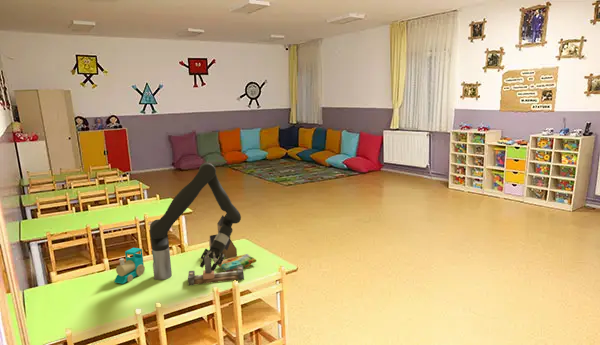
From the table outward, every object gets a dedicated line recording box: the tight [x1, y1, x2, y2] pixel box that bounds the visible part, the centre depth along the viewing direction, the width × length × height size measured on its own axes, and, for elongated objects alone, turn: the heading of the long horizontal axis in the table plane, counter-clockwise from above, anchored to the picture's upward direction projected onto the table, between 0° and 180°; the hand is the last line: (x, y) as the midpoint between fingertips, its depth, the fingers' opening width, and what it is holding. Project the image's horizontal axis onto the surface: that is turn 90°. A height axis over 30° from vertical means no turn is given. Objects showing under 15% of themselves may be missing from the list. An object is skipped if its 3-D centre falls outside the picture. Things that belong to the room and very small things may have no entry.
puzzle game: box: [218, 253, 257, 272], centre depth 244 cm, size 12×5×20 cm
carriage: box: [202, 256, 215, 280], centre depth 227 cm, size 6×6×11 cm
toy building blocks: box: [208, 214, 238, 259], centre depth 260 cm, size 12×19×25 cm, turn 27°
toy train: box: [114, 247, 146, 285], centre depth 232 cm, size 8×17×15 cm, turn 159°
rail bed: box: [187, 265, 245, 286], centre depth 228 cm, size 30×9×5 cm, turn 101°
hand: (206, 268), depth 226 cm, fingers open, 8 cm apart
